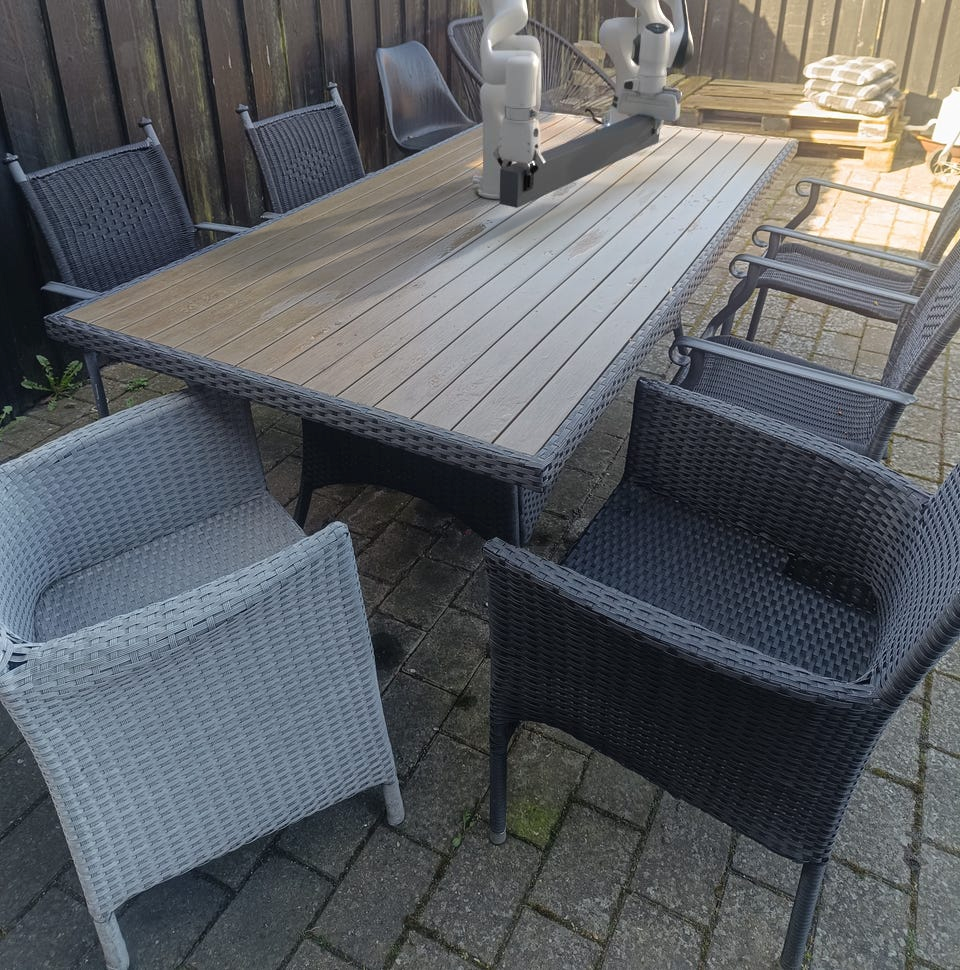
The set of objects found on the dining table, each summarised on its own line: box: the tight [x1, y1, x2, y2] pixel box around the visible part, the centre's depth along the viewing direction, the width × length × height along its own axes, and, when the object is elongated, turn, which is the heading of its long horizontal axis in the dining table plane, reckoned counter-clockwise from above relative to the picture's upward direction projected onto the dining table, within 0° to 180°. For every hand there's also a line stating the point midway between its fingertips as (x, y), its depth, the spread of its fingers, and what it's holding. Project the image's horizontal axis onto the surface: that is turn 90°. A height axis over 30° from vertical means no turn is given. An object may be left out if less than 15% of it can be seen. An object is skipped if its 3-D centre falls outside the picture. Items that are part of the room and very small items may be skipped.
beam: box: [499, 114, 661, 209], centre depth 241 cm, size 81×6×9 cm, turn 144°
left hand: (518, 187), depth 217 cm, fingers closed on beam, 5 cm apart
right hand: (645, 132), depth 265 cm, fingers closed on beam, 5 cm apart
